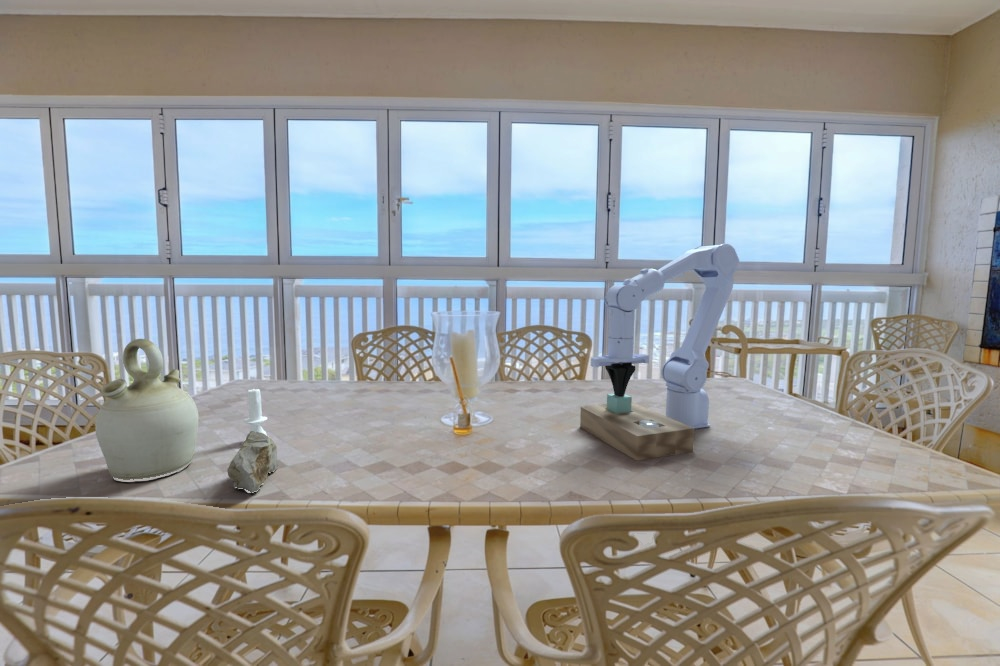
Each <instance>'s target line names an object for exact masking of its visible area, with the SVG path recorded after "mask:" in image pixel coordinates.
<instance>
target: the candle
mask: <svg viewBox="0 0 1000 666" xmlns="http://www.w3.org/2000/svg"><path fill="white" fill-rule="evenodd" d="M246 394H247V408H248V410H247V411H248V418H245V419H244V420H243V423H245V424H247V425H249V426H251V427H250V430H249V432H248V433H247V434H246V436H247V435H248V434H249V433H250V432H251V431H254V432H259V433H260V432H261V433H263V434H265V435H267V432H266V430H264V429H263V427H262V424H263V422H266V421H267V420H268V417H267V416H263V412H262V411H263V410H262V409H263V408H262V396H261V390H260V389H259V388H256V389H255V388H252V389H248V390H247V393H246ZM267 436H268V435H267Z"/></svg>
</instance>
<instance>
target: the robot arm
mask: <svg viewBox="0 0 1000 666" xmlns="http://www.w3.org/2000/svg"><path fill="white" fill-rule="evenodd" d="M739 263H740V258H739V257H738V253H737V251H736V249H735V248H734V247H733V246H732V245H731V244H728V243H722V244H716V245H706V246H703V245H698V246H696V247H694V248H692V249H688V250H686V252H685V253H682V254H681V255H680V256H677V258H675V259H673V260H671V261H670V262H668V263H666V264H665V265H663V266H662V267H660V268H659V269H658V270H657V269H654V268H642V269H641V270H640V271H639V272H640V273H639V274H637V275H635V276H633V277H632V278H626V279H624V280H623V283H622V284H615V285H612V286H611V287H610V288H609V289H608V290H607V292H606V295H605V296H604V297H603V299H604V303H605V305H606V307H607V308H608V332H607V333H608V334H607V335H608V336H607V337H608V338H607V339H608V340H607V354H606V355H601V356H596V357H595V356H594V357H590V367H593V368H599V367H604V368H605V370H606V371H607V374H608V377H609V378H610V380H611V385H612V388H613V389H612V390H613V394H614V395H617V396H619V397H620V396H624V394H626V391H627V388H628V386H629V382H630V380H631V378H632V376H633V374H634V373H635V371H636V366H635V364H649V363H650V355H649V354H646V353H640V354H639V353H634V344H635V318H636V317H635V316H636V314H635V312H636V310H637V309H638V308H639V306H640V305H641V303H642V302H643V301H645V300H646V299H649V298H650V297H652V296H654V295H655V294H657V293H659V292H661V291H663V289H664V287H665V284H666V283H667V282H669V281H671V280H673V279H675V278H677V277H679V276H681V275H683V274H685V273H687V272H689V271H691V270H692V271H693V272H694V273H695V274H696V276H698V279H700V280H701V282H702V283H703V284H704V286H705V290H704V292H703V294H702V297H701V300H700V302H699V303H698V304H699V305H698V306H697V309H696V310H695V314H694V316H693V318H692V321H691V323H690V326H689V328H688V330H687V331H686V332H687V333H686V335H685V337H684V340H683V341H682V344H681V346H680V347H679V348H678V349H676V350H673V352H672V353H671V354H670V356H669V358H668V359H667V360H666V361H665V362H664V363H663V365H662V367H661V377H662V380H664V382H665V386H666V399H665V400H666V401H665V402H666V403H665V404H666V405H665V407H666V408H665V416H666V417H669V418H671V419H673V420H676V421H678V422H681V423H683V424H685V425H688V426H690V427H693V428H694V430H696V429H702V428H708V427H711V424H710V423H709V408H710V399H709V395H708V393H707V392H706V391H705V390H704V388H703V387H704V386H705V385H706V383H707V379H708V378H707V377H708V376H707V373H708V369H709V367H710V363H709V361H708V360H707V358H706V356H705V354H706V352H707V350H708V347H709V345H710V342H711V340H712V338H713V335H714V333H715V331H716V329H717V326H718V324H719V321H720V318H721V316H722V314H723V312H724V311H725V310H724V309H725V307H726V305H727V303H728V300H729V297H730V295H731V294H732V293H731V292H732V290H733V288H734V277H735V272H736V270H737V267H738V265H739ZM633 364H634V365H633Z"/></svg>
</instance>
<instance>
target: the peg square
mask: <svg viewBox="0 0 1000 666" xmlns="http://www.w3.org/2000/svg"><path fill="white" fill-rule="evenodd" d="M632 397H633V396H631V395H628V394H626V393H625V394H624V396H620V397H619V396H617V395H614V393H607V394H606V404H607V410H609V411H611V412H613V413H615V414H620V413H629V412H631V403H633V402H632Z"/></svg>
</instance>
